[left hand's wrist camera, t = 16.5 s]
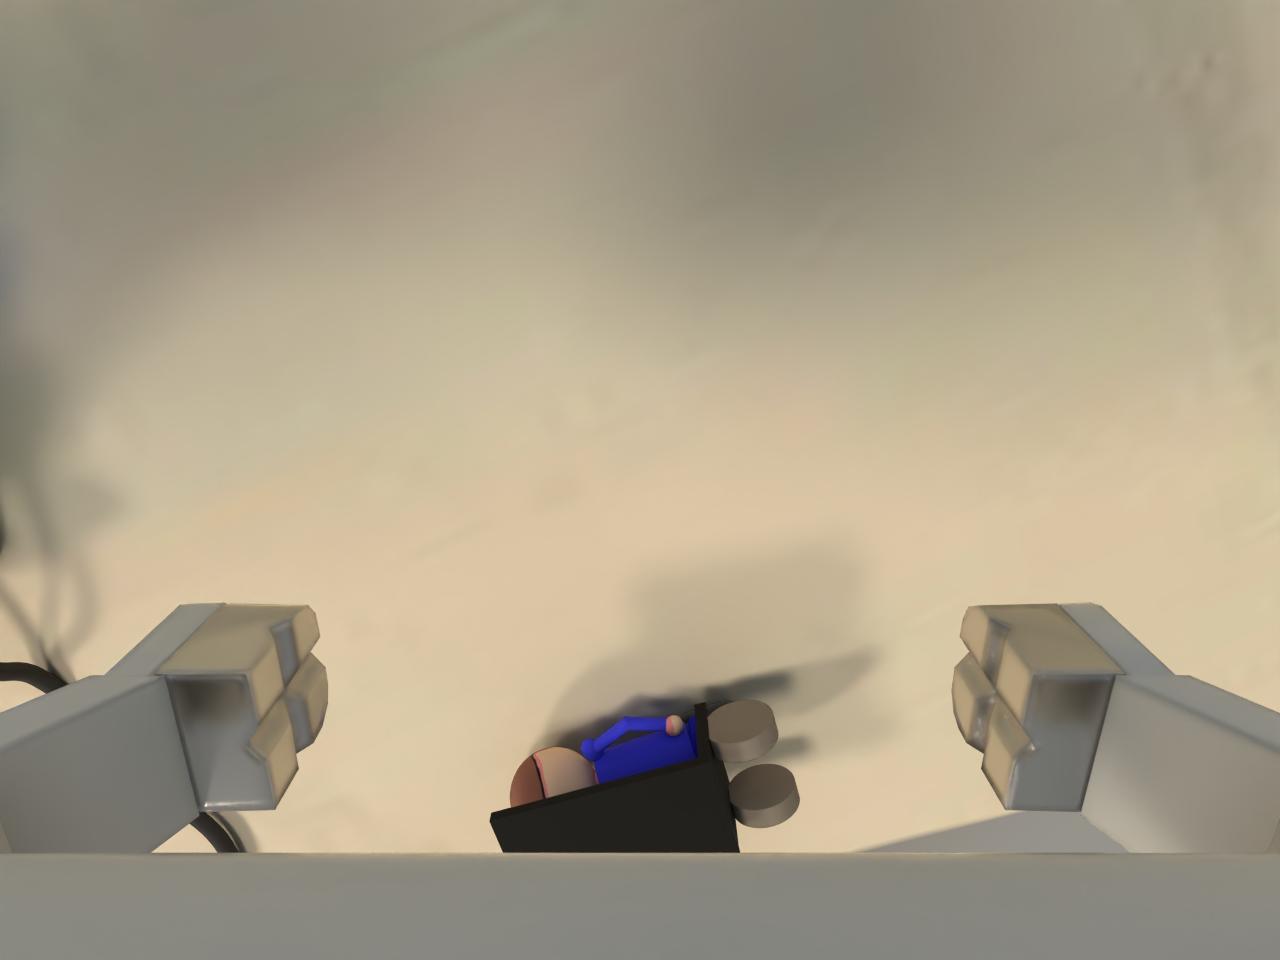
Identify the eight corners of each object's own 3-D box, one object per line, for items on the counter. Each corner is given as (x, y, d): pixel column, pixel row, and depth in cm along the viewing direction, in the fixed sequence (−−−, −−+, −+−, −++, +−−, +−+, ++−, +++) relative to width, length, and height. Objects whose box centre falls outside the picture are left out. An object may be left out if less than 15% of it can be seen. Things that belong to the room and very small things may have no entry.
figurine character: (747, 648, 45) (493, 732, 45) (785, 732, 38) (483, 833, 38) (775, 741, 47) (534, 822, 47) (816, 837, 40) (532, 932, 40)
